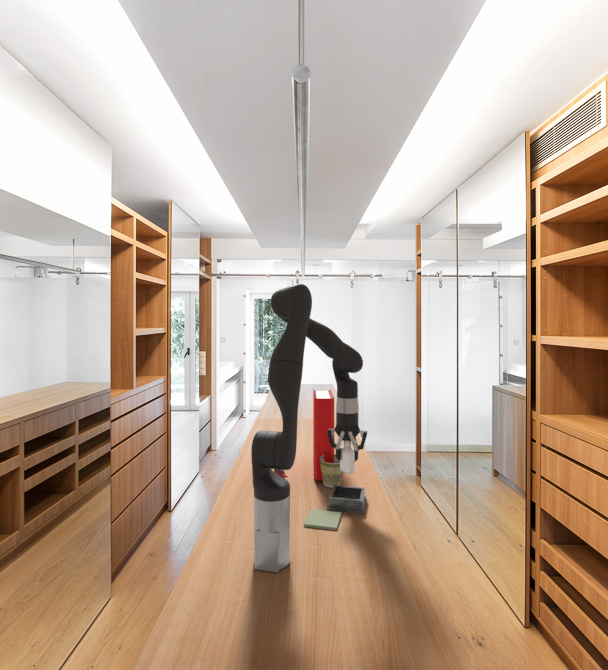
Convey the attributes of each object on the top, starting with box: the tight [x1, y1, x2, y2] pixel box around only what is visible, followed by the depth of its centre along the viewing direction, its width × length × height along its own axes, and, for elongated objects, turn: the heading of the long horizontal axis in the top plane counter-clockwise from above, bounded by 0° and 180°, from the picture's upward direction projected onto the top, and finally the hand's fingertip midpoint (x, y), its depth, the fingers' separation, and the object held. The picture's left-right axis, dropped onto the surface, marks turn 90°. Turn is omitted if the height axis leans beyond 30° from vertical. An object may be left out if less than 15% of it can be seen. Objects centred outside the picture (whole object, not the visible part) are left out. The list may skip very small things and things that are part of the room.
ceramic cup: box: [320, 453, 344, 489], centre depth 151 cm, size 13×10×10 cm
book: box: [312, 389, 335, 481], centre depth 167 cm, size 27×8×32 cm, turn 179°
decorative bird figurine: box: [273, 469, 289, 479], centre depth 150 cm, size 3×18×10 cm, turn 21°
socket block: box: [326, 485, 368, 515], centre depth 133 cm, size 12×12×4 cm
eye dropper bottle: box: [340, 440, 356, 475], centre depth 133 cm, size 4×6×12 cm
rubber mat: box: [303, 508, 342, 531], centre depth 122 cm, size 10×10×1 cm
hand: (347, 460), depth 133 cm, fingers closed on eye dropper bottle, 4 cm apart
